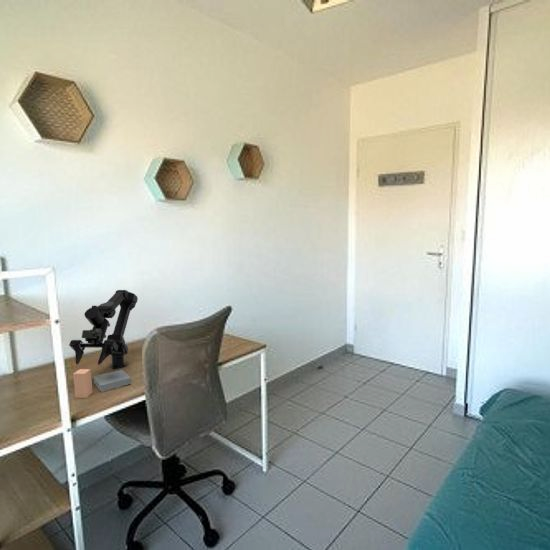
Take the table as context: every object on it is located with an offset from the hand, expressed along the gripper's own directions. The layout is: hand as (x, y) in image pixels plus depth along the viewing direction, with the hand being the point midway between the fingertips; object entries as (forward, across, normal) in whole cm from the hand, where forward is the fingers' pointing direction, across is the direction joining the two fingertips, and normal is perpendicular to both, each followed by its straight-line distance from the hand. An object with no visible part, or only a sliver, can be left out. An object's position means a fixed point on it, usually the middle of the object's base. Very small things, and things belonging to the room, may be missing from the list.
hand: (87, 364), depth 159 cm
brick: (+11, 0, +5) cm, 12 cm away
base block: (+3, +7, +12) cm, 14 cm away
